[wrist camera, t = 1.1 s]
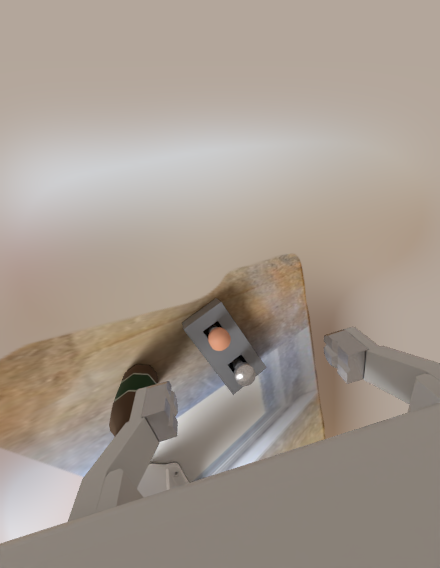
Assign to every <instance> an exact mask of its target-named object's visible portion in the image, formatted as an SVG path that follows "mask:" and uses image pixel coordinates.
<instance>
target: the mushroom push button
mask: <svg viewBox="0 0 440 568" xmlns="http://www.w3.org/2000/svg"><path fill="white" fill-rule="evenodd" d="M230 341H231V337H230V335H229V333H228V332H227V331H226V330H225V329H224V328H221V327H217V326H211V327H210V328H209V335H208V342H209V344H210V346H211V347H212V348H213V349H214V350H216V351H222V350H225V349H226V348H227V347H228V346H229V344H230Z"/></svg>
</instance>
